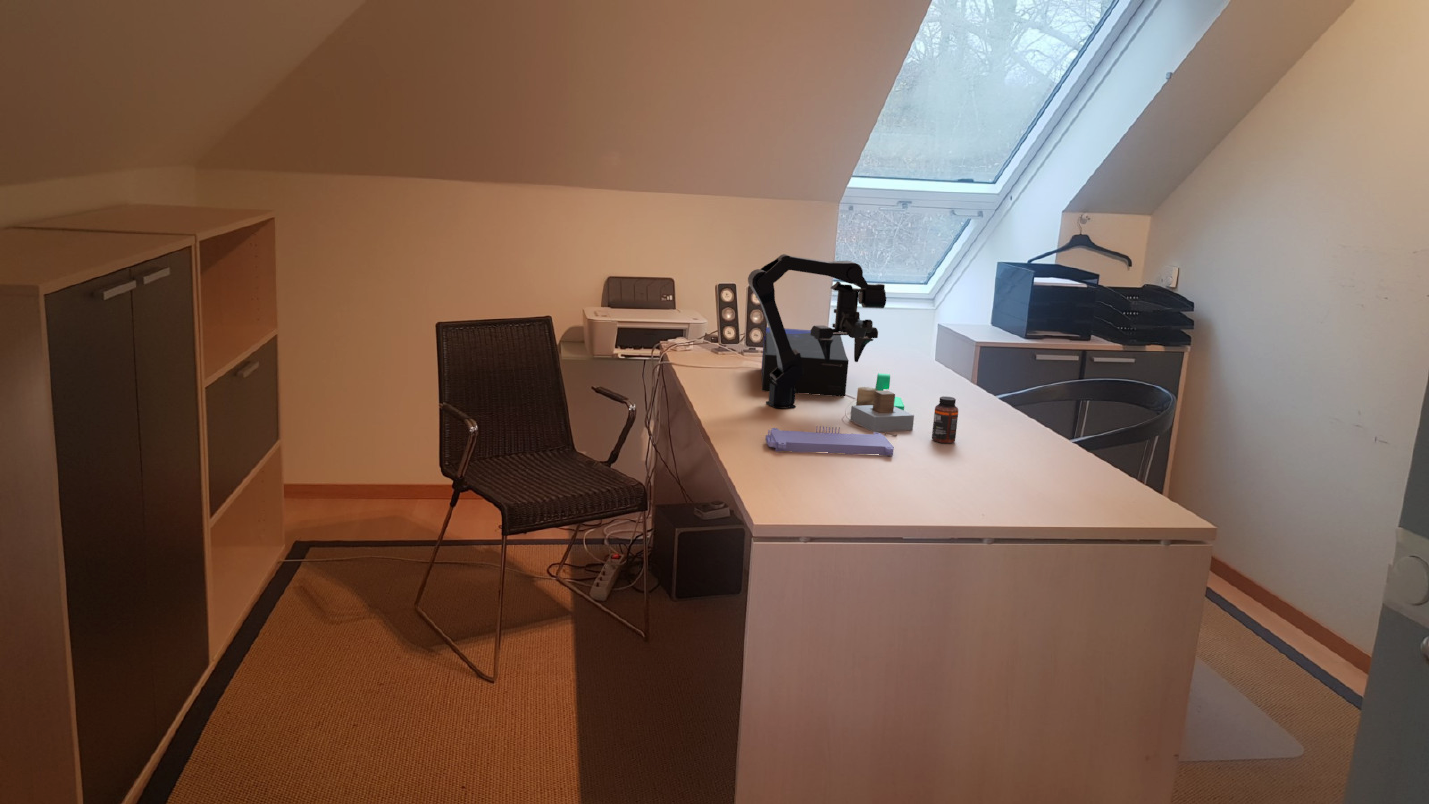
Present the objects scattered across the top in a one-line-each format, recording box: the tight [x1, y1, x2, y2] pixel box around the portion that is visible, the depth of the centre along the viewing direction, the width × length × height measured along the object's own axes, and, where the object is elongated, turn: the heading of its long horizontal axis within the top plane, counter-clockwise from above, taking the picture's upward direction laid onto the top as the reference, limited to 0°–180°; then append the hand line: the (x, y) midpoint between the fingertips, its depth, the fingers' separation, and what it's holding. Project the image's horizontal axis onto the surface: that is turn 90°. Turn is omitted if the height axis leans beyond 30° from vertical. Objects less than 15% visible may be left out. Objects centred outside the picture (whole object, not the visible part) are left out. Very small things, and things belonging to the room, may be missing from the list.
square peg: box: [873, 390, 896, 413], centre depth 280 cm, size 4×4×9 cm
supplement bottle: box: [931, 395, 959, 444], centre depth 268 cm, size 6×6×11 cm
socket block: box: [849, 405, 915, 433], centre depth 280 cm, size 12×12×4 cm
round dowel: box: [855, 386, 878, 406], centre depth 296 cm, size 6×6×6 cm
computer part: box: [765, 426, 895, 456], centre depth 256 cm, size 30×4×15 cm
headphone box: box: [760, 326, 849, 397], centre depth 327 cm, size 25×35×14 cm
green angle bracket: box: [875, 373, 905, 411], centre depth 299 cm, size 12×8×10 cm, turn 176°
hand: (841, 362), depth 295 cm, fingers open, 9 cm apart
